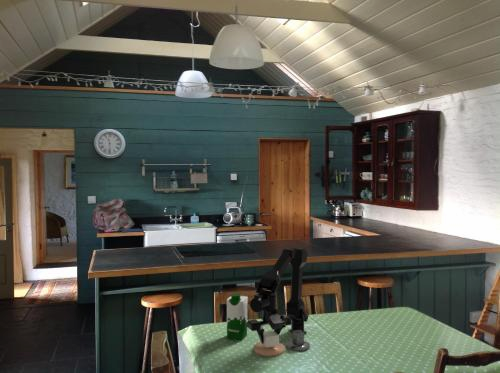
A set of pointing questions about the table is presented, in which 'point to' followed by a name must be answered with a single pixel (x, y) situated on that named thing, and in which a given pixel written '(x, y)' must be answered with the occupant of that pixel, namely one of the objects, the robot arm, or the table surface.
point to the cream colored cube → (270, 338)
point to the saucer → (269, 350)
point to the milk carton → (237, 317)
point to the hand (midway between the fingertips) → (269, 342)
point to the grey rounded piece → (298, 342)
